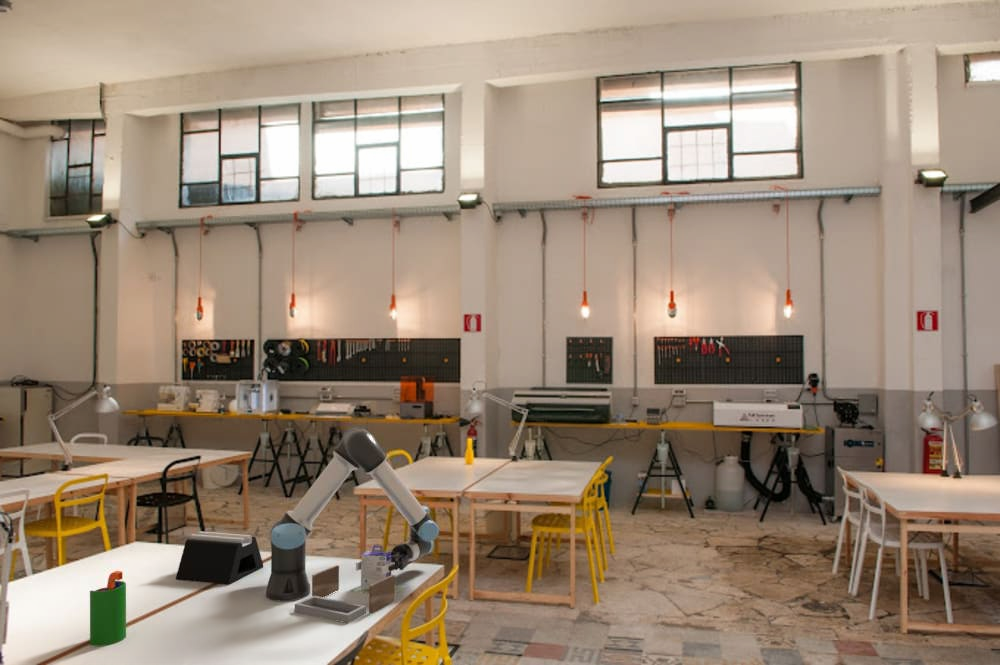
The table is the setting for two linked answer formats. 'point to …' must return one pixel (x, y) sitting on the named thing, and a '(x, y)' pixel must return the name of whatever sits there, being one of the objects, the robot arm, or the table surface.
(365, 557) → the ink cartridge box
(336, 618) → the pit trap
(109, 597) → the green tool holder
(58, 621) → the table surface
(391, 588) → the tunnel walls
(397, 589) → the pad
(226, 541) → the device stand
